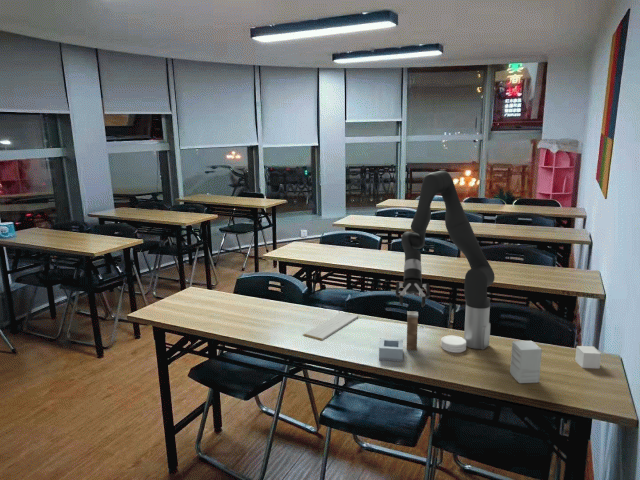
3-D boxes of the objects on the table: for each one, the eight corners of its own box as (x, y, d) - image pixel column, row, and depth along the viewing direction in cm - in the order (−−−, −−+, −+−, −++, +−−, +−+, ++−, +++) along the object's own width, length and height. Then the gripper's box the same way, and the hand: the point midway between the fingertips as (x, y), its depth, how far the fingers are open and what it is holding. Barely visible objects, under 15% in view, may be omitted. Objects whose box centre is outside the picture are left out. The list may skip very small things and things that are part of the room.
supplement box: (529, 372, 166) (532, 340, 164) (539, 383, 159) (542, 349, 157) (509, 373, 166) (511, 340, 164) (518, 383, 159) (521, 349, 156)
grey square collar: (402, 351, 185) (402, 339, 184) (402, 361, 176) (402, 349, 175) (380, 349, 186) (380, 338, 185) (378, 359, 178) (379, 347, 177)
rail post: (416, 346, 189) (417, 311, 186) (417, 350, 185) (418, 315, 182) (406, 345, 190) (407, 311, 187) (406, 349, 186) (407, 314, 183)
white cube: (575, 360, 175) (576, 345, 174) (591, 361, 174) (593, 346, 173) (582, 368, 169) (584, 353, 168) (599, 368, 169) (601, 353, 167)
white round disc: (442, 352, 184) (442, 344, 183) (439, 342, 193) (439, 334, 192) (468, 353, 182) (468, 345, 181) (464, 343, 192) (464, 335, 191)
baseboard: (299, 335, 203) (322, 341, 196) (299, 329, 202) (322, 335, 196) (337, 313, 228) (358, 318, 221) (337, 308, 227) (358, 312, 221)
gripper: (396, 266, 199) (395, 300, 191) (429, 268, 197) (430, 302, 188) (396, 275, 206) (395, 308, 197) (428, 276, 203) (429, 310, 194)
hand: (412, 305), depth 193 cm, fingers open, 8 cm apart
